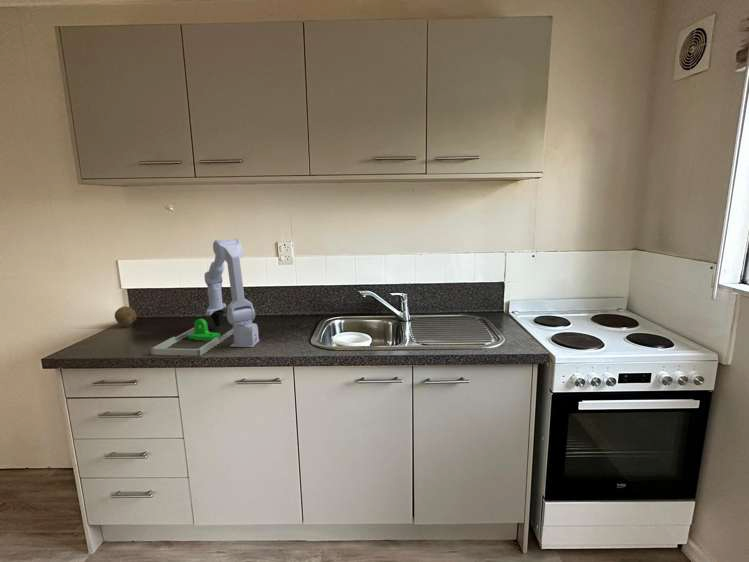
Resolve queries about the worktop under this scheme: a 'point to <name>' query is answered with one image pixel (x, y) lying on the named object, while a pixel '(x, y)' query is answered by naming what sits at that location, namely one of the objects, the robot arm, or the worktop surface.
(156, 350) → the tray
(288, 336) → the worktop surface
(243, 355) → the worktop surface
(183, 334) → the slot rails
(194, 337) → the mechanical part
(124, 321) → the natural sponge
